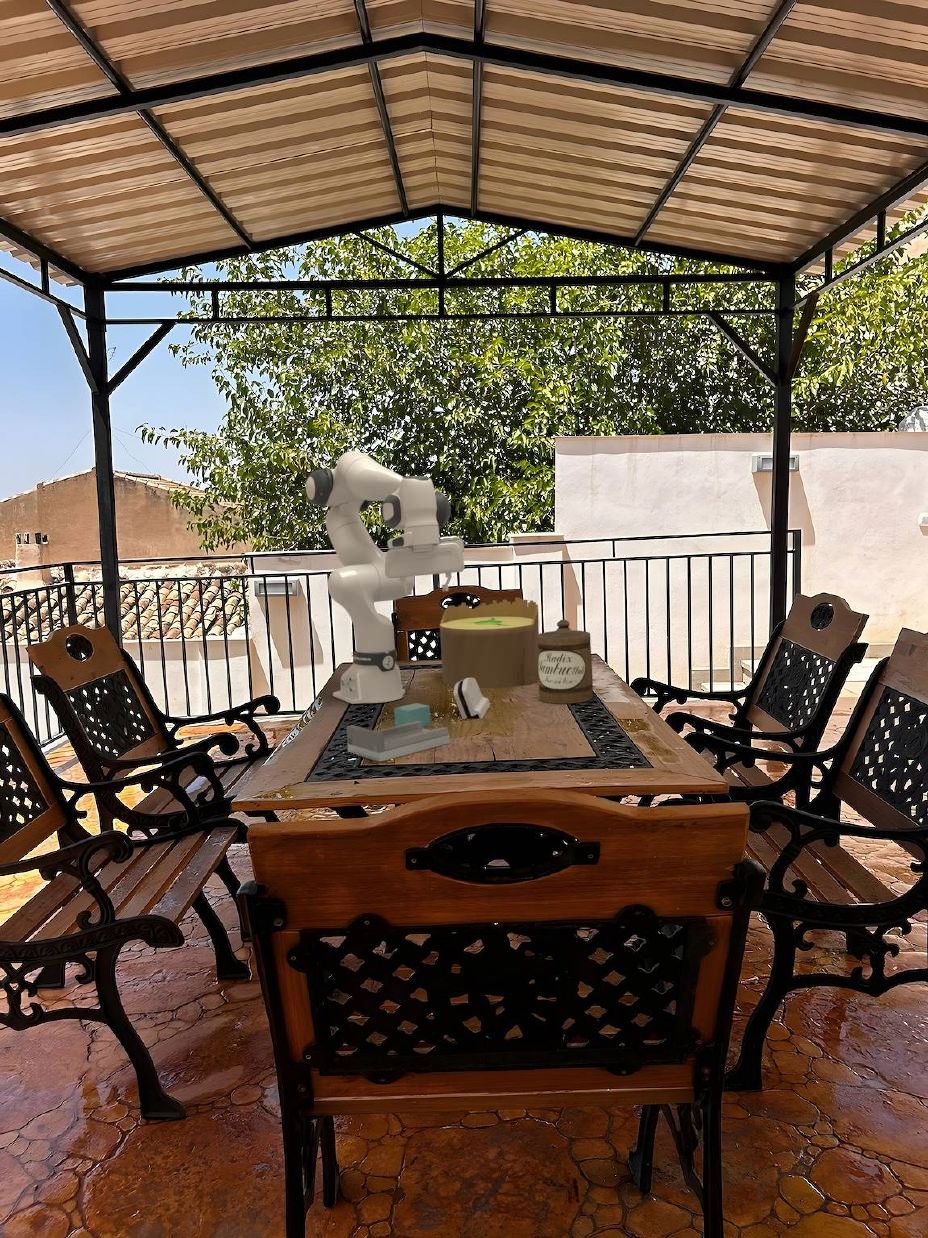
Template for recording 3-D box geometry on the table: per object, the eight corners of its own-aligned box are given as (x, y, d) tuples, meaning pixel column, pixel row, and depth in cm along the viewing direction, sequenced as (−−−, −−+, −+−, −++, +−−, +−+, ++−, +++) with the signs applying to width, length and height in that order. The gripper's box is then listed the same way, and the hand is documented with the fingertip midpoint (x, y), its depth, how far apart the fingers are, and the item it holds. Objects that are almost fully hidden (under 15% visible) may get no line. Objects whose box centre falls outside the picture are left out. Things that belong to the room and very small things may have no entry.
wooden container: (532, 703, 245) (529, 623, 242) (548, 692, 259) (545, 616, 256) (585, 705, 239) (583, 623, 237) (598, 694, 253) (596, 616, 250)
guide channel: (347, 752, 203) (346, 726, 202) (417, 734, 216) (416, 710, 215) (379, 762, 194) (377, 735, 193) (449, 743, 207) (448, 717, 206)
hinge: (481, 719, 229) (467, 682, 229) (464, 725, 230) (450, 689, 230) (490, 704, 246) (477, 670, 245) (474, 710, 246) (461, 676, 246)
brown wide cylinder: (488, 665, 307) (485, 595, 304) (566, 676, 281) (563, 600, 278) (417, 680, 286) (413, 605, 283) (494, 693, 260) (490, 611, 257)
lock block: (395, 727, 225) (393, 708, 224) (418, 721, 230) (417, 702, 229) (408, 730, 221) (407, 711, 220) (432, 725, 226) (431, 705, 225)
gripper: (463, 535, 231) (468, 589, 231) (384, 543, 232) (389, 596, 232) (462, 534, 224) (467, 589, 225) (381, 541, 225) (386, 596, 226)
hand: (427, 593), depth 229 cm, fingers open, 8 cm apart
